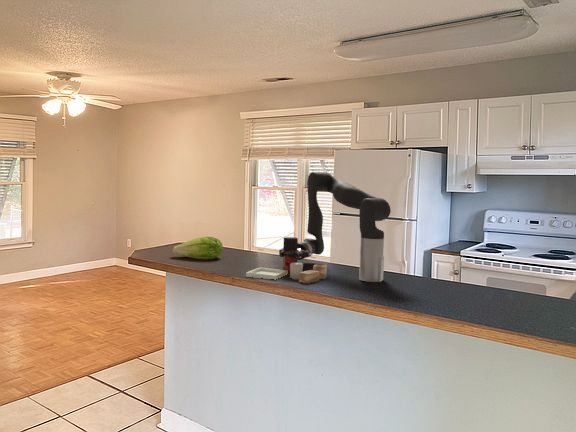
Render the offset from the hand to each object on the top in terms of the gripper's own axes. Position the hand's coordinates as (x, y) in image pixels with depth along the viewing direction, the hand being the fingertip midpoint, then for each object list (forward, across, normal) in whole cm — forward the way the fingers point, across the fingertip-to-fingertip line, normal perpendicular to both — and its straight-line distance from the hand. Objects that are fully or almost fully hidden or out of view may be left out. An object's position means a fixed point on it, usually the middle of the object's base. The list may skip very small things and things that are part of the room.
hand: (288, 255), depth 203 cm
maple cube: (0, +14, +8) cm, 16 cm away
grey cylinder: (+6, +6, +8) cm, 12 cm away
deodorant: (-2, 0, +8) cm, 9 cm away
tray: (+8, -6, +8) cm, 13 cm away
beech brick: (+10, +13, +8) cm, 18 cm away
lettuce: (-16, -54, +8) cm, 57 cm away
